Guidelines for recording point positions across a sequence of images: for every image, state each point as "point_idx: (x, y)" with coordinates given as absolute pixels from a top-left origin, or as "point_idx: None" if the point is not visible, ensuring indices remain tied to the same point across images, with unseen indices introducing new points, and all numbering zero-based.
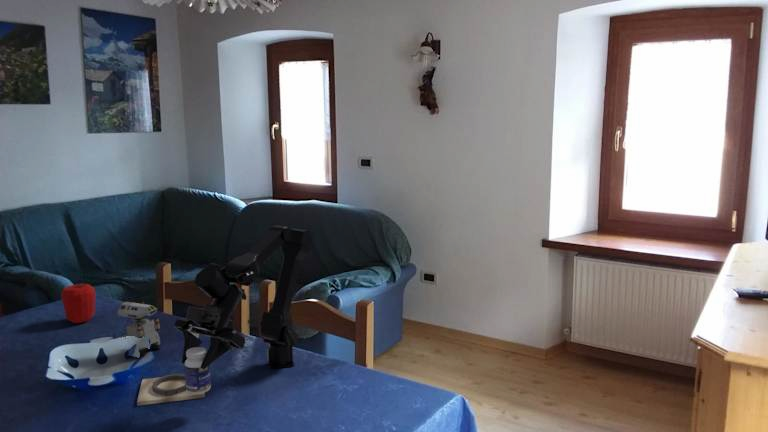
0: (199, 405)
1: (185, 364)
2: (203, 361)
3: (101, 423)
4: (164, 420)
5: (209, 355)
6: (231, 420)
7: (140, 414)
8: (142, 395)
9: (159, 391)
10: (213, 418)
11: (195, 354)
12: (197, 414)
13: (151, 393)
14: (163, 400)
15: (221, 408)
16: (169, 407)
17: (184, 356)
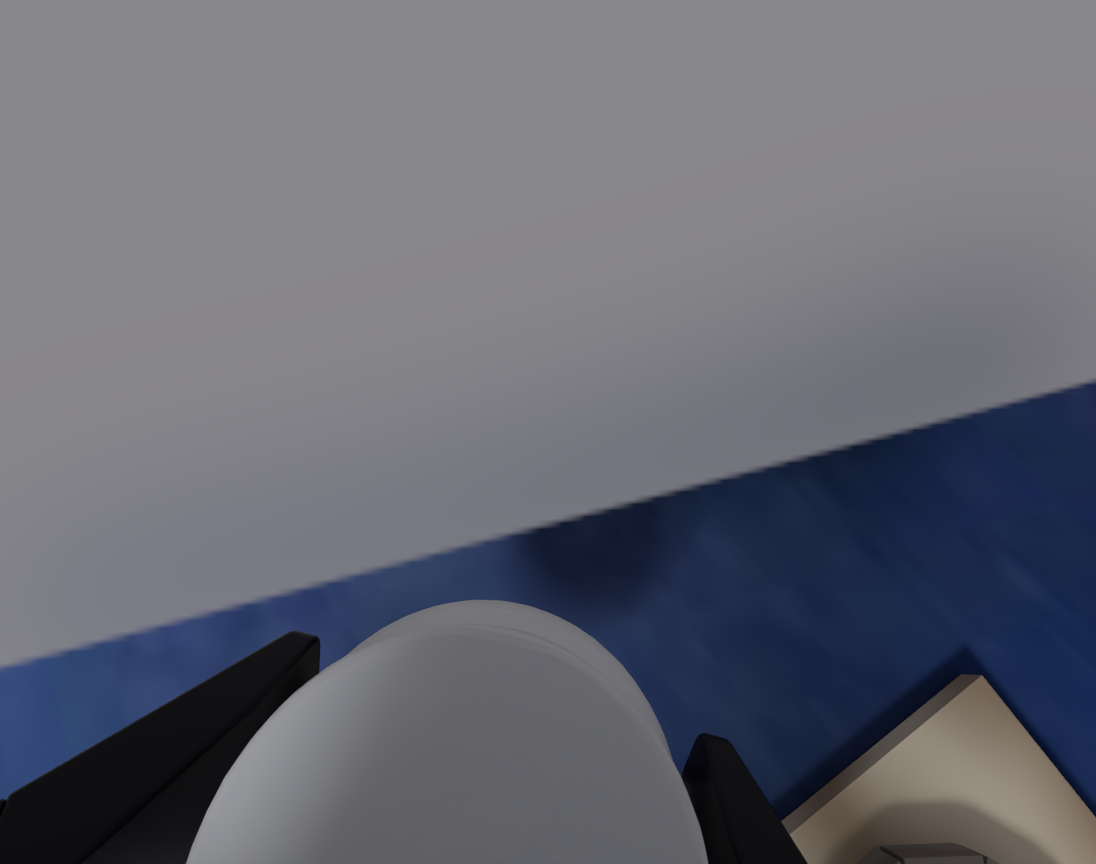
0: None
1: (598, 644)
2: (241, 690)
3: (960, 437)
4: (662, 553)
5: (32, 792)
6: None
7: (850, 579)
8: (1035, 783)
9: (952, 852)
10: None
11: (353, 657)
12: None
13: (1006, 841)
14: (845, 777)
15: None
16: (747, 719)
17: (737, 817)
